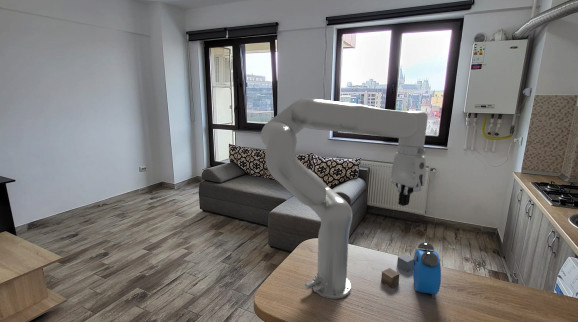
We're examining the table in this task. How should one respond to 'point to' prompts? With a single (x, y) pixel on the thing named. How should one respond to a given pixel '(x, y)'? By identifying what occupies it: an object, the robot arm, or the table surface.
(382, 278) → the walnut block
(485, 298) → the table surface
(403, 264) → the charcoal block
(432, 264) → the alarm clock
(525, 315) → the table surface
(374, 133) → the robot arm
